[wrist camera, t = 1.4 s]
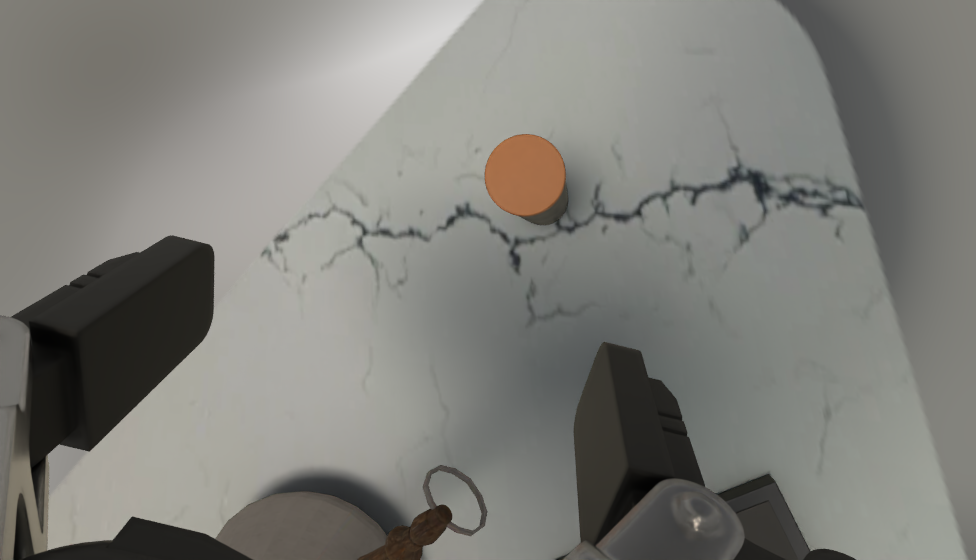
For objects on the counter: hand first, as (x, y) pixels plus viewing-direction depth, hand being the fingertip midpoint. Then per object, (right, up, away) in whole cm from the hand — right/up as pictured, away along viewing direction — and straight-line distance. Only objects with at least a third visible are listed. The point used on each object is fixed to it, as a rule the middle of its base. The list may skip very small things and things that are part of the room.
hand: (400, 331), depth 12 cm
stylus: (+5, +5, +18) cm, 20 cm away
